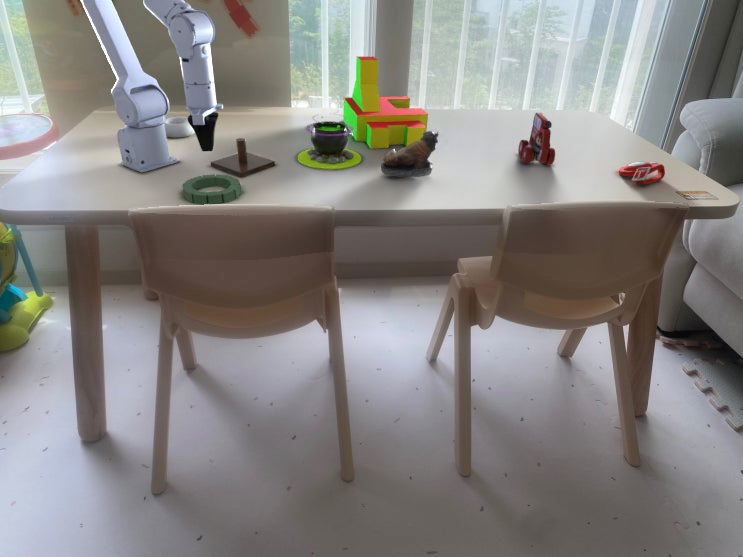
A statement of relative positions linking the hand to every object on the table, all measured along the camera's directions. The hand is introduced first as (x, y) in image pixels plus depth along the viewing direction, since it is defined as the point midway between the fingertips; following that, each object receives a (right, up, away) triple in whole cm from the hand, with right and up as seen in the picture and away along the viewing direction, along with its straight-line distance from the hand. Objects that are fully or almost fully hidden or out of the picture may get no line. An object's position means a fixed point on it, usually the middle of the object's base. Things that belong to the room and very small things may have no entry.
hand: (207, 150), depth 109 cm
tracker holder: (+95, -4, +12) cm, 96 cm away
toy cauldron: (+24, +2, +16) cm, 29 cm away
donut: (-16, +11, +28) cm, 34 cm away
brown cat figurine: (+42, -4, +9) cm, 43 cm away
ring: (+2, -9, -4) cm, 10 cm away
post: (+5, -1, +10) cm, 11 cm away
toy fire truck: (+74, +2, +21) cm, 77 cm away
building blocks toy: (+38, +13, +35) cm, 53 cm away
